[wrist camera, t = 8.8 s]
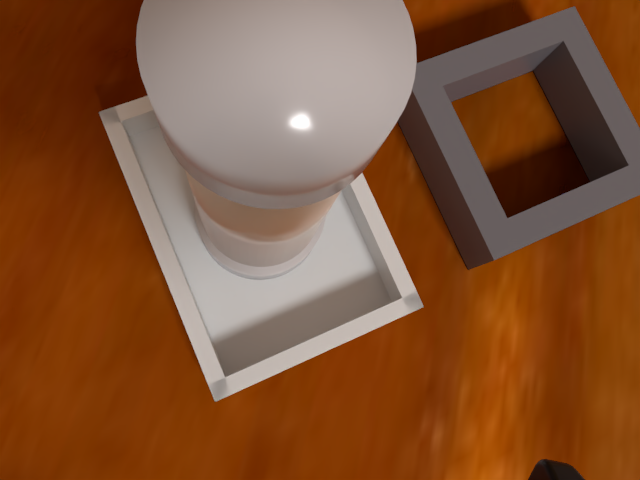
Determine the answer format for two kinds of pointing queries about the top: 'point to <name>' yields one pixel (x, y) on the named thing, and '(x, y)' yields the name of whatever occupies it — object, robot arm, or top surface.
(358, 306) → the parts tray
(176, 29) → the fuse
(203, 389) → the top surface
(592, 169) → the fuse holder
